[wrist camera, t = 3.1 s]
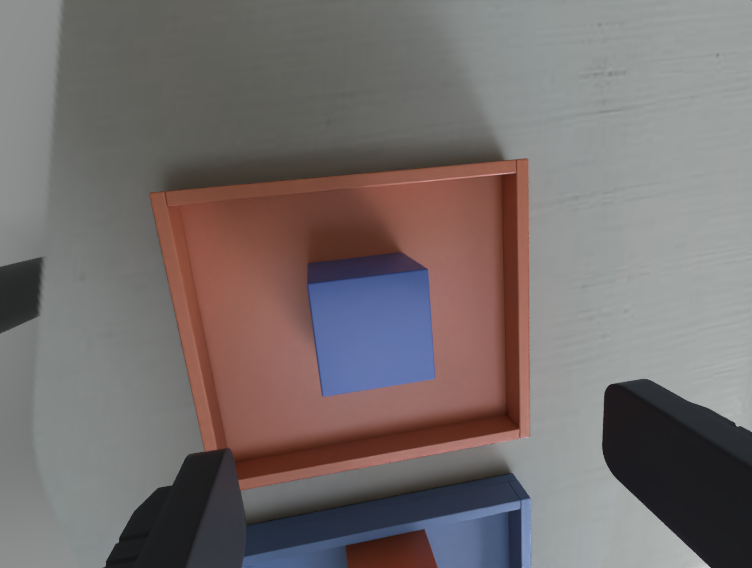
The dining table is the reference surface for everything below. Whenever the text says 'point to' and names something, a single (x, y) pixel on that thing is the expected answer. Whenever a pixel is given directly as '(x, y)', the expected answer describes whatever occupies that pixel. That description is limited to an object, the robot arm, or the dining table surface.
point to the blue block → (371, 322)
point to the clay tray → (294, 324)
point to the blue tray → (407, 528)
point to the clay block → (392, 552)
